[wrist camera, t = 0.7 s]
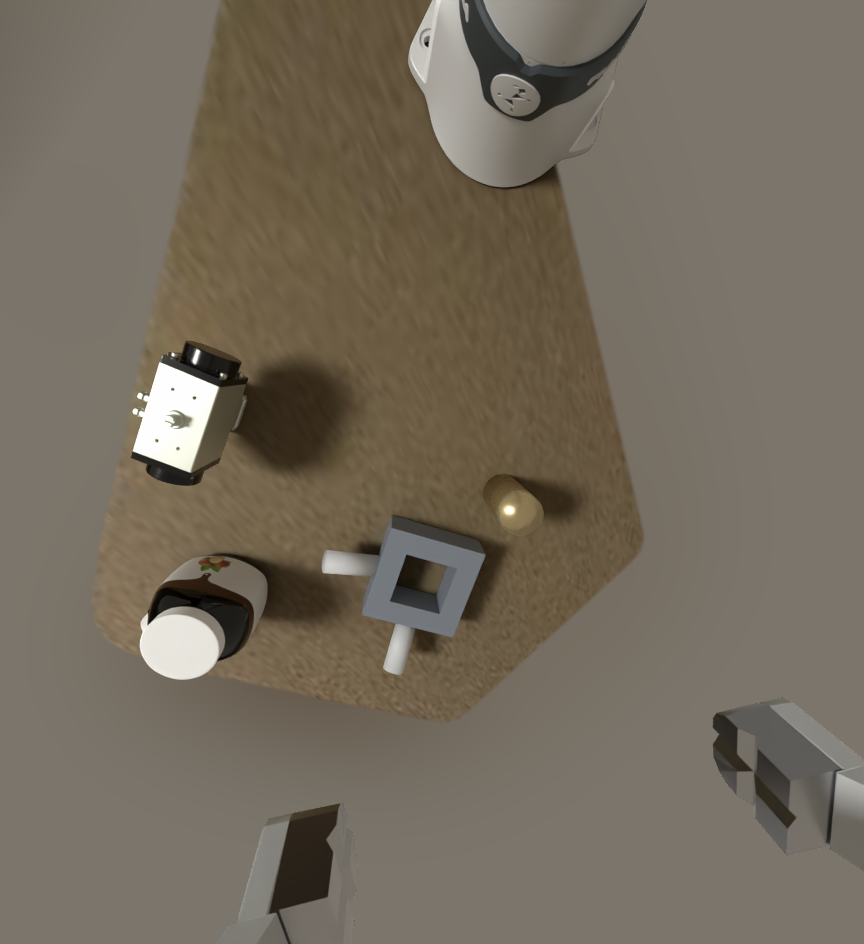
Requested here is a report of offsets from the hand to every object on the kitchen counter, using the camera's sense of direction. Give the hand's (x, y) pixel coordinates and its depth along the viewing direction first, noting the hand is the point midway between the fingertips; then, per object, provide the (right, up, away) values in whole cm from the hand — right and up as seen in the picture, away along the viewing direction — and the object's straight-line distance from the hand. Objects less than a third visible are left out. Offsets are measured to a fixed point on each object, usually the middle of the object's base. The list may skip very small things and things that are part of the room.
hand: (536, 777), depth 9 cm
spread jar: (-28, -8, +40) cm, 49 cm away
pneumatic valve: (-24, +14, +35) cm, 44 cm away
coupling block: (-7, -7, +41) cm, 43 cm away
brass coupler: (+6, +4, +40) cm, 40 cm away
